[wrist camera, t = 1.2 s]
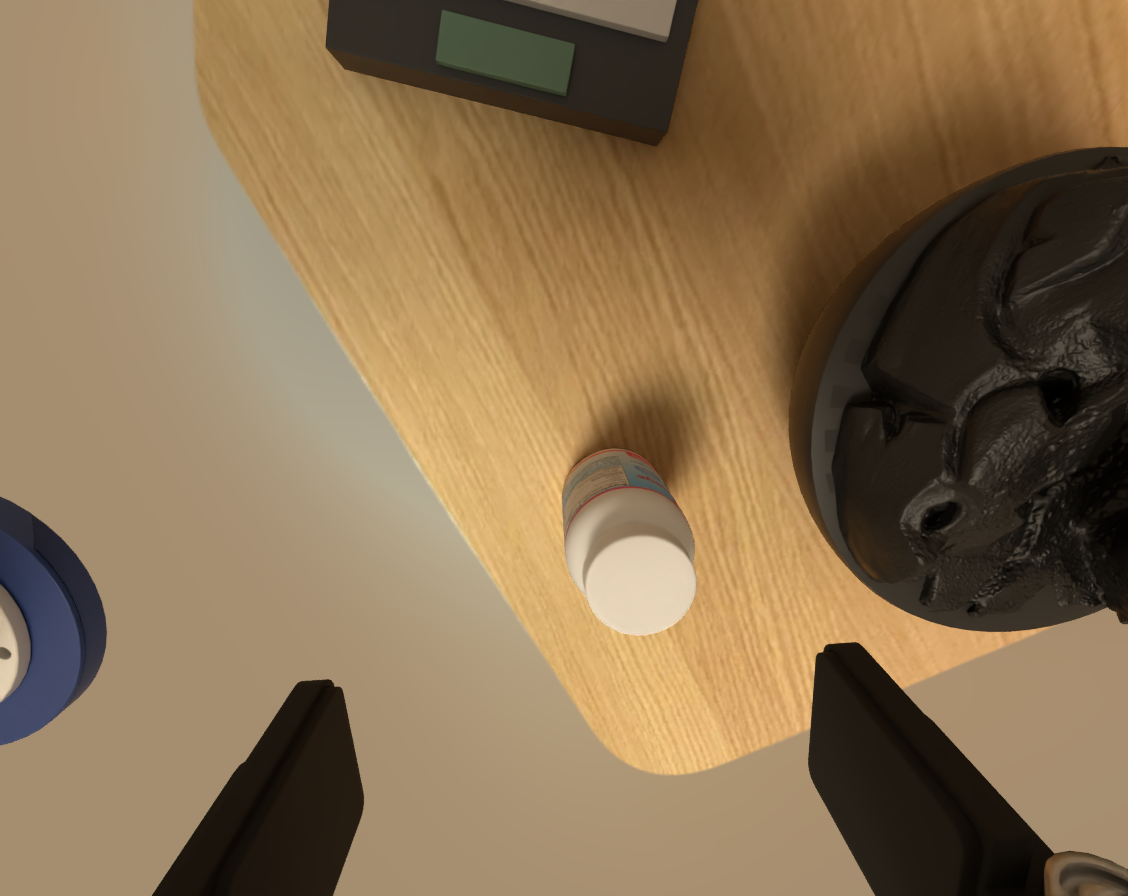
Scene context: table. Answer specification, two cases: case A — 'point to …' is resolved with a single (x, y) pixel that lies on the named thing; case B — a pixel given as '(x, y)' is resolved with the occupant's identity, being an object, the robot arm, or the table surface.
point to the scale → (528, 55)
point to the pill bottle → (627, 543)
